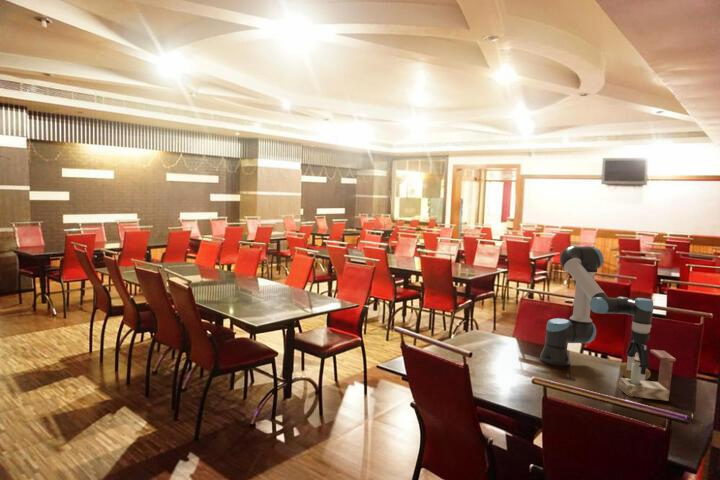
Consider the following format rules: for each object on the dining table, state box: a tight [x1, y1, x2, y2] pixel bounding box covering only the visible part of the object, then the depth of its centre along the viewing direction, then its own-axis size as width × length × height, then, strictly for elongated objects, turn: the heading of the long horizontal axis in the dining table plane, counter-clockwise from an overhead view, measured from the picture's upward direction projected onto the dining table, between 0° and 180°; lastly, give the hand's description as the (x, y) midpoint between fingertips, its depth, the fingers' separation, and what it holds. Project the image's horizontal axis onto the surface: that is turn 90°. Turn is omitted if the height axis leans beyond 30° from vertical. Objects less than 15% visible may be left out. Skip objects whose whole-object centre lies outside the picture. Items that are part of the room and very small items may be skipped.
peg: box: [630, 363, 640, 385], centre depth 225 cm, size 4×4×14 cm
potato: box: [619, 362, 652, 381], centre depth 243 cm, size 10×14×8 cm
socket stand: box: [618, 349, 677, 402], centre depth 224 cm, size 18×12×20 cm, turn 80°
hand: (635, 375), depth 225 cm, fingers open, 13 cm apart
